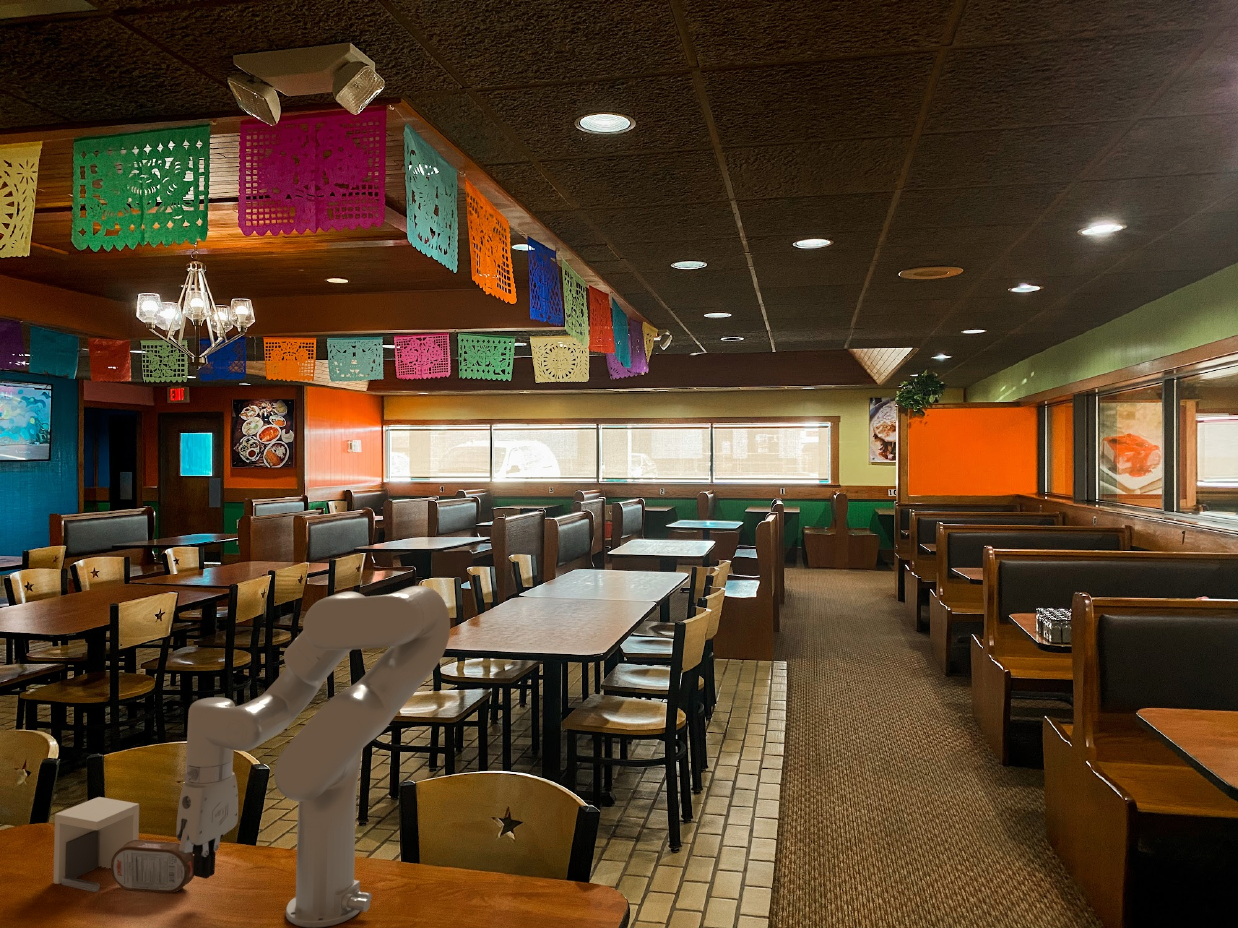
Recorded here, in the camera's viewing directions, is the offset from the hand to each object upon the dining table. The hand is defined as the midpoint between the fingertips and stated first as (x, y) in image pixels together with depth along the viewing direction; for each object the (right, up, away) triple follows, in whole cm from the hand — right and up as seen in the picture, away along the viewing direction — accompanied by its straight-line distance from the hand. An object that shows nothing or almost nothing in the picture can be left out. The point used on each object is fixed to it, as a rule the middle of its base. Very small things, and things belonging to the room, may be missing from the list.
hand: (203, 874), depth 152 cm
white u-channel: (-24, -4, +8) cm, 26 cm away
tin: (-11, -5, +4) cm, 13 cm away
